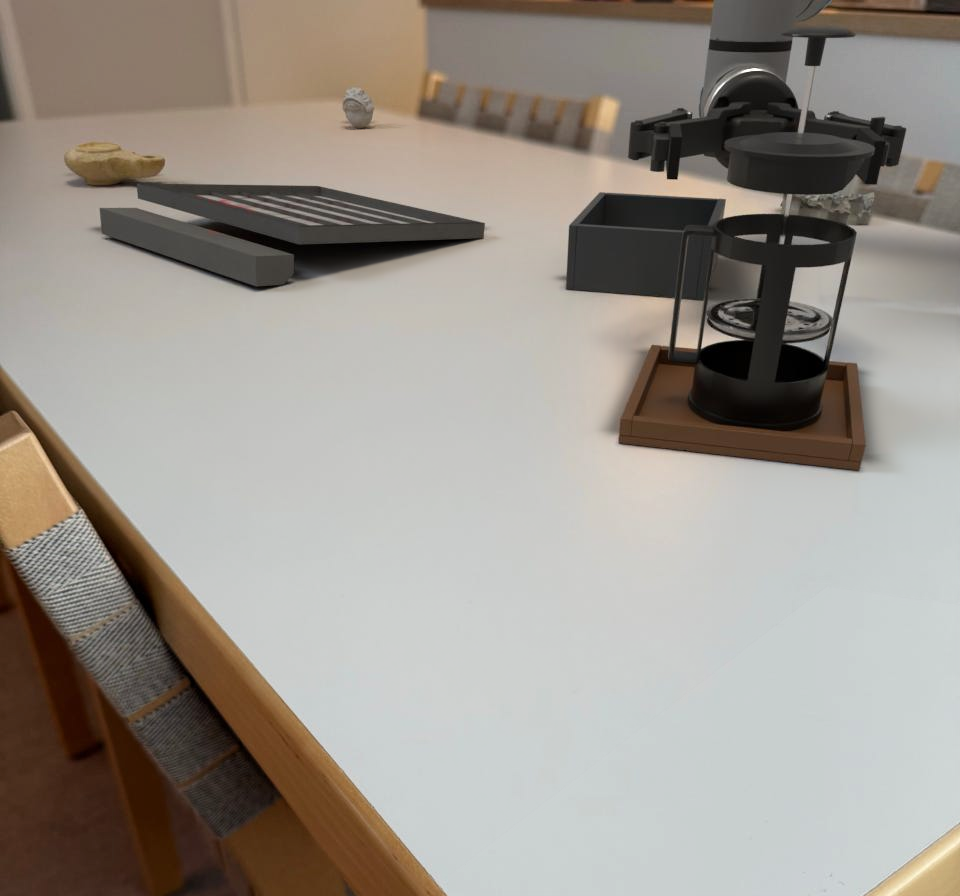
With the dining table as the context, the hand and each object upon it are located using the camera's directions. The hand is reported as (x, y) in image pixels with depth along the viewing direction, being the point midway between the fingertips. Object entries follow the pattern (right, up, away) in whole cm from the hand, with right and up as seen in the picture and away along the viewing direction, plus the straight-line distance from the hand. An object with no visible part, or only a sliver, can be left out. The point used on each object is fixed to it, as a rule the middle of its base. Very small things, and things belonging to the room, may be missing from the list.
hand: (773, 160), depth 66 cm
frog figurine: (-44, +66, +120) cm, 143 cm away
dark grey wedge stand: (-42, +14, +46) cm, 64 cm away
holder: (-3, +5, +34) cm, 34 cm away
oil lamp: (-73, +34, +74) cm, 109 cm away
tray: (-1, -17, +3) cm, 17 cm away
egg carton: (+22, +18, +52) cm, 59 cm away
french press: (-1, -17, +3) cm, 17 cm away
